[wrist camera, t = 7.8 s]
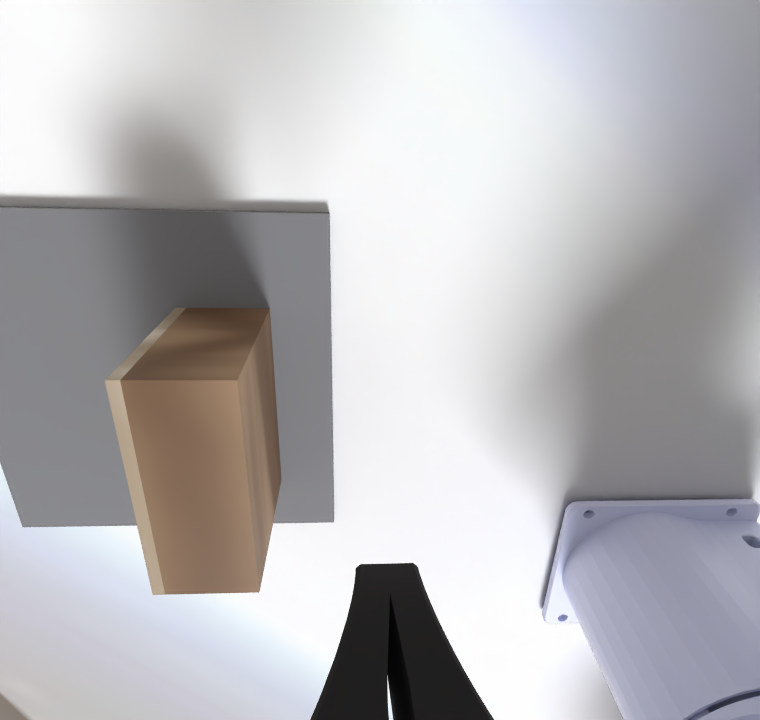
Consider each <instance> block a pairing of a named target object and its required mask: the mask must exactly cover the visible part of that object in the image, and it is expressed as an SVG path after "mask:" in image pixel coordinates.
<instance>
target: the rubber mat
mask: <svg viewBox="0 0 760 720" xmlns="http://www.w3.org/2000/svg"><path fill="white" fill-rule="evenodd" d="M175 308H270V317H271V332H272V346H273V361H274V376H275V390H276V405H277V420H278V435H279V449H280V464H281V479H282V480H281V485H280V490H279V495H278V500H277V505H276V510H275V515H274V520H273V523H318V522H334V479H333V414H332V348H331V282H330V216H329V213H316V212H263V211H210V210H157V209H104V208H51V207H0V463H1V466H2V469H3V472H4V474H5V477H6V480H7V483H8V486H9V489H10V492H11V495H12V498H13V500H14V503H15V506H16V509H17V512H18V515H19V518H20V521H21V523H22V526H23V527H65V526H128V525H137V522H136V518H135V513H134V509H133V504H132V500H131V496H130V491H129V487H128V482H127V478H126V473H125V469H124V464H123V460H122V456H121V451H120V447H119V442H118V438H117V433H116V429H115V424H114V420H113V416H112V411H111V407H110V402H109V398H108V393H107V389H106V384H105V379H106V378H107V377H108V376H109V375H110V374H111V373H112V372H113V371H114V370H115V369H116V368H117V367H118V366H119V365H120V364H121V363H122V362H123V361H124V360H125V359H126V358H127V357H128V356H129V355H130V354H131V353H132V352H133V351H134V350H135V349H136V348H137V347H138V346H139V345H140V344H141V343H142V342H143V340H144V339H145V338H146V337H147V336H148V335H149V334H150V333H151V332H152V331H153V330H154V329H155V328H156V327H157V326H158V325H159V324H160V323H161V322H162V321H163V320H164V319H165V318H166V317H167V316H168V315H169V314H170V313H171V312H172V311H173V310H174V309H175Z"/></svg>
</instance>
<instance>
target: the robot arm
mask: <svg viewBox="0 0 760 720" xmlns="http://www.w3.org/2000/svg"><path fill="white" fill-rule="evenodd" d="M588 510H590V511H589V512H587V513H585V512H586V511H588ZM759 514H760V505H759V504H758V503H757V502H756V501H755V500H753V499H704V500H632V501H576V502H572V503H570V504H569V505H568V506H567V507H566V510H565V514H564V518H563V523H562V527H561V532H560V536H559V540H558V545H557V549H556V554H555V558H554V562H553V567H552V571H551V576H550V580H549V584H548V589H547V593H546V598H545V602H544V606H543V611H542V616H543V619H544V621H545V622H546V623H548V624H574V623H580V625H581V627H582V629H583V632H584V634H585V636H586V638H587V640H588V643H589V645H590V647H591V649H592V651H593V653H594V656H595V658H596V660H597V662H598V664H599V666H600V669H601V671H602V673H603V675H604V677H605V680H606V682H607V684H608V686H609V688H610V690H611V693H612V695H613V697H614V699H615V701H616V703H617V706H618V708H619V710H620V712H621V714H622V717H623V719H624V720H760V524H759V523H758V522H757V518H758V516H759ZM387 675H388V682H389V690H390V698H391V705H392V713H393V720H494V719H493V717H492V716H491V714H490V713H489V711H488V710H487V708H486V706H485V705H484V703H483V702H482V700H481V698H480V697H479V695H478V693H477V692H476V690H475V688H474V687H473V685H472V683H471V681H470V680H469V678H468V676H467V675H466V673H465V671H464V669H463V667H462V666H461V664H460V662H459V660H458V658H457V656H456V655H455V653H454V651H453V649H452V647H451V645H450V643H449V641H448V639H447V637H446V635H445V633H444V631H443V629H442V627H441V625H440V623H439V621H438V619H437V616H436V614H435V612H434V610H433V607H432V605H431V603H430V600H429V598H428V595H427V593H426V590H425V588H424V585H423V582H422V579H421V577H420V574H419V570H418V567H417V566H416V565H415V564H414V563H401V564H361V565H359V566H358V567H357V568H356V575H355V584H354V590H353V596H352V600H351V605H350V609H349V613H348V617H347V620H346V624H345V627H344V630H343V633H342V637H341V640H340V643H339V647H338V650H337V653H336V656H335V659H334V661H333V664H332V667H331V669H330V672H329V675H328V677H327V680H326V683H325V685H324V688H323V691H322V693H321V696H320V698H319V701H318V703H317V705H316V708H315V710H314V713H313V715H312V717H311V720H389V716H388V700H387Z"/></svg>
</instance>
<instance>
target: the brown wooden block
mask: <svg viewBox="0 0 760 720" xmlns="http://www.w3.org/2000/svg"><path fill="white" fill-rule="evenodd" d="M105 384H106V389H107V393H108V398H109V402H110V407H111V411H112V416H113V420H114V424H115V429H116V433H117V438H118V442H119V447H120V451H121V456H122V460H123V464H124V469H125V473H126V478H127V482H128V487H129V491H130V496H131V500H132V504H133V509H134V513H135V518H136V522H137V527H138V531H139V536H140V540H141V544H142V549H143V553H144V558H145V562H146V567H147V571H148V576H149V580H150V585H151V589H152V593H153V595H163V594H205V593H248V592H259V591H260V586H261V581H262V576H263V571H264V566H265V561H266V555H267V550H268V545H269V540H270V535H271V530H272V525H273V520H274V515H275V510H276V505H277V500H278V495H279V490H280V485H281V480H282V479H281V464H280V449H279V435H278V420H277V405H276V390H275V376H274V361H273V346H272V332H271V317H270V308H175V309H174V310H173V311H172V312H171V313H170V314H169V315H168V316H167V317H166V318H165V319H164V320H163V321H162V322H161V323H160V324H159V325H158V326H157V327H156V328H155V329H154V330H153V331H152V332H151V333H150V334H149V335H148V336H147V337H146V338H145V339H144V340H143V342H142V343H141V344H140V345H139V346H138V347H137V348H136V349H135V350H134V351H133V352H132V353H131V354H130V355H129V356H128V357H127V358H126V359H125V360H124V361H123V362H122V363H121V364H120V365H119V366H118V367H117V368H116V369H115V370H114V371H113V372H112V373H111V374H110V375H109V376H108V377H107V378H106V379H105Z"/></svg>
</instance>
